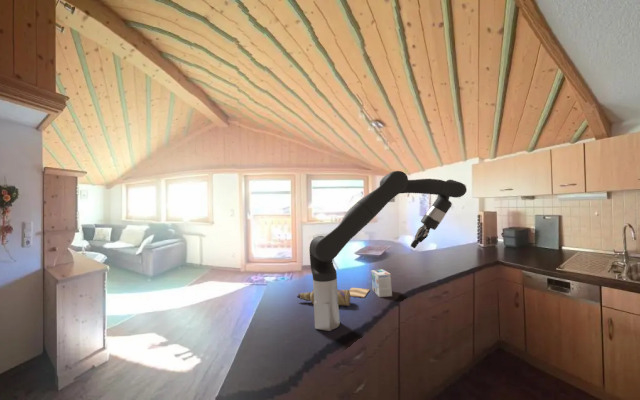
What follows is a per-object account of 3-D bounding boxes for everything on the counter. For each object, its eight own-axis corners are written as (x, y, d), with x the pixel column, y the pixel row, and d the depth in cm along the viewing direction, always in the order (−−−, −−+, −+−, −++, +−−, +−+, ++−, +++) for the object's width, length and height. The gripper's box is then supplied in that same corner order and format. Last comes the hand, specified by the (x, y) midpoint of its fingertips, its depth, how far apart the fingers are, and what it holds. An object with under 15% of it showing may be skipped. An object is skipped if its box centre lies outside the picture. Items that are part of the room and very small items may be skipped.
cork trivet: (364, 297, 115) (364, 296, 115) (344, 295, 119) (344, 294, 119) (369, 290, 125) (369, 289, 126) (351, 288, 130) (351, 287, 130)
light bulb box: (372, 290, 125) (370, 269, 125) (384, 289, 125) (383, 268, 126) (379, 297, 114) (377, 274, 115) (392, 296, 115) (391, 273, 116)
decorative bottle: (351, 302, 111) (350, 287, 111) (348, 308, 103) (347, 293, 104) (300, 299, 118) (300, 285, 119) (294, 305, 111) (293, 290, 112)
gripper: (423, 212, 120) (404, 239, 123) (428, 215, 107) (407, 245, 110) (437, 220, 119) (417, 248, 122) (443, 224, 106) (421, 255, 109)
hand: (412, 246), depth 116 cm, fingers closed
